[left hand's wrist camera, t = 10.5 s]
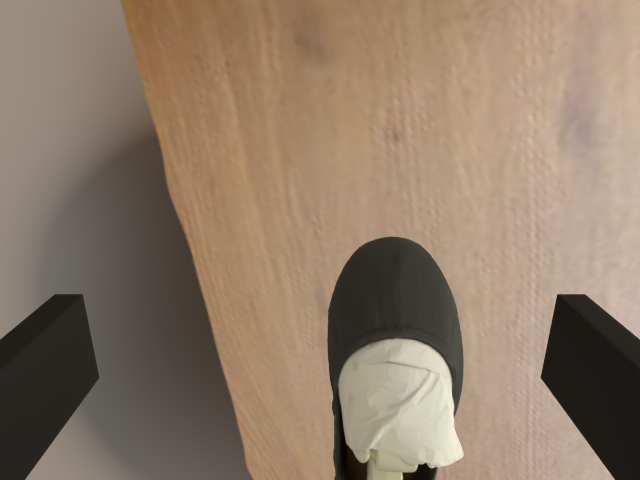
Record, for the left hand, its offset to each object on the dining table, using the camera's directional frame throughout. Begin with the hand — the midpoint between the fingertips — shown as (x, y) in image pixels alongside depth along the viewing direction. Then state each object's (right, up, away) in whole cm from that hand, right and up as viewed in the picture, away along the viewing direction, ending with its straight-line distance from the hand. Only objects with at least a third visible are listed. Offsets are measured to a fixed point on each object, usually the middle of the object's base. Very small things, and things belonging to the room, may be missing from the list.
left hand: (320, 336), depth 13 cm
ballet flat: (+5, -8, +18) cm, 20 cm away
